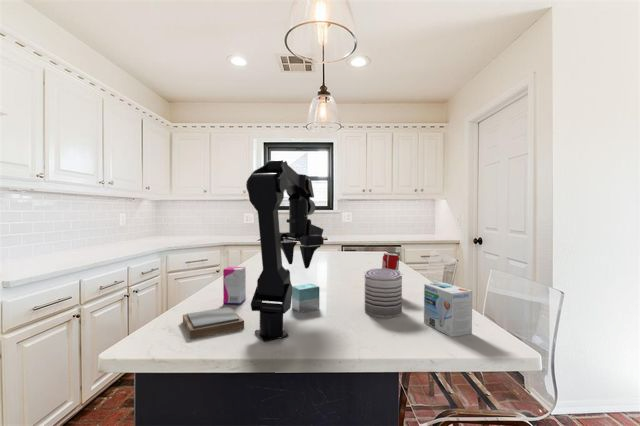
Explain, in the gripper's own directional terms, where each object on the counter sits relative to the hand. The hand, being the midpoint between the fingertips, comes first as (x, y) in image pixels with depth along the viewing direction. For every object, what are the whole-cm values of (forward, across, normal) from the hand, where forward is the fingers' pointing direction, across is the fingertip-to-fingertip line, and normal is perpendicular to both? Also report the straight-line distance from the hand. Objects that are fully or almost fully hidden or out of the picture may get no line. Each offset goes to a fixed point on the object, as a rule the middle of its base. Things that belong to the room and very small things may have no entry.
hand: (298, 266), depth 99 cm
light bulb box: (+13, -37, -22) cm, 45 cm away
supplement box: (+13, +18, +13) cm, 26 cm away
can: (+13, -18, -19) cm, 29 cm away
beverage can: (+13, -7, -34) cm, 37 cm away
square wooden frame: (+13, +1, +26) cm, 29 cm away
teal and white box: (+13, -2, -2) cm, 13 cm away
